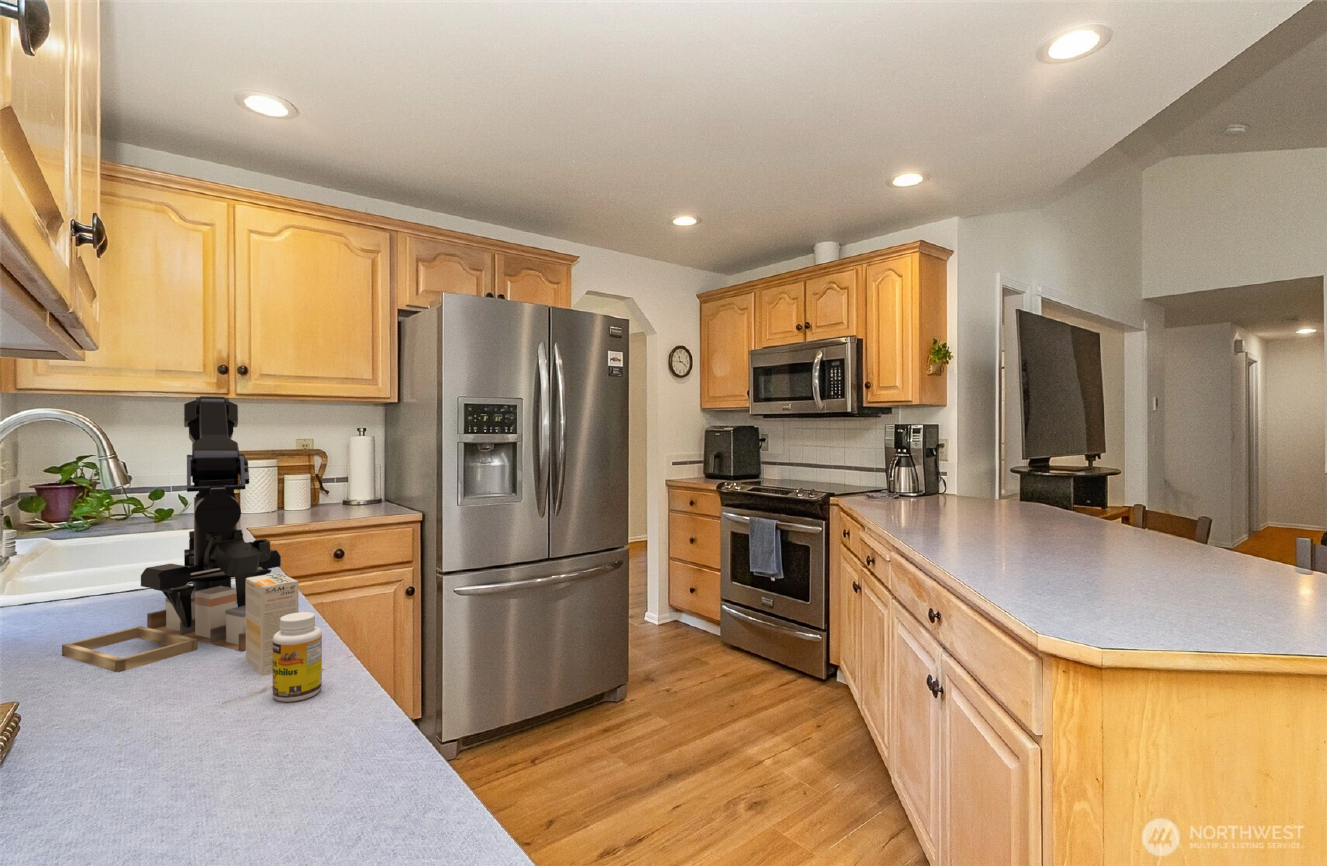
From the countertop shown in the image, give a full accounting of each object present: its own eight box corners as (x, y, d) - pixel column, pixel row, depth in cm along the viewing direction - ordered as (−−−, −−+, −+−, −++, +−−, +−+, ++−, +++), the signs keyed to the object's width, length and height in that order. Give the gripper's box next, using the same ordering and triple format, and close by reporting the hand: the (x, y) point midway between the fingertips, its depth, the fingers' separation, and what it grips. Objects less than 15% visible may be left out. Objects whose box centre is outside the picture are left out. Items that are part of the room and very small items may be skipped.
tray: (62, 661, 94) (61, 644, 94) (140, 641, 103) (140, 625, 103) (118, 679, 88) (118, 661, 88) (197, 655, 97) (197, 639, 97)
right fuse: (225, 641, 100) (225, 609, 100) (251, 634, 104) (251, 603, 104) (242, 645, 99) (242, 613, 99) (268, 637, 103) (268, 606, 102)
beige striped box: (194, 634, 104) (194, 591, 104) (221, 627, 108) (221, 585, 108) (210, 638, 102) (210, 594, 102) (236, 630, 106) (236, 588, 106)
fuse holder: (147, 634, 107) (147, 613, 107) (192, 622, 113) (192, 603, 113) (242, 657, 96) (242, 634, 96) (287, 643, 103) (287, 621, 103)
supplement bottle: (261, 700, 82) (261, 620, 82) (298, 683, 87) (298, 608, 87) (296, 706, 80) (296, 624, 80) (331, 688, 85) (331, 612, 85)
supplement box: (300, 673, 91) (300, 580, 91) (261, 683, 87) (261, 586, 87) (281, 658, 96) (281, 571, 96) (244, 667, 93) (244, 576, 93)
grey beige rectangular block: (165, 627, 107) (165, 598, 107) (192, 621, 111) (192, 592, 111) (180, 631, 105) (180, 600, 105) (206, 624, 109) (206, 595, 109)
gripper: (182, 537, 93) (182, 645, 93) (302, 520, 110) (302, 611, 110) (138, 531, 98) (138, 634, 98) (260, 516, 114) (260, 603, 115)
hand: (215, 620), depth 105 cm, fingers open, 8 cm apart
